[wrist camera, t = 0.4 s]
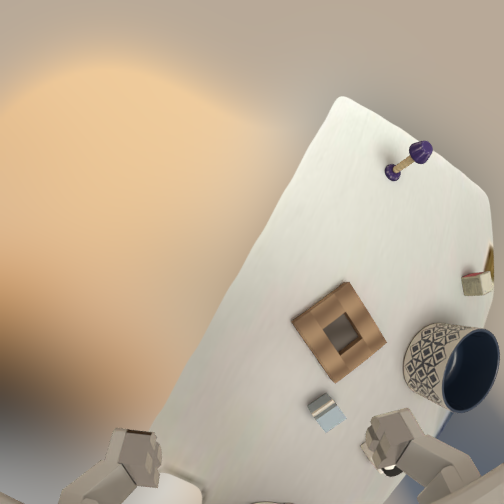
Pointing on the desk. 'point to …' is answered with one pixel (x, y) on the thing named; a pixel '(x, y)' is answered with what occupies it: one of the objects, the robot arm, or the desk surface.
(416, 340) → the planter
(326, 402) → the key block
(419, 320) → the desk surface
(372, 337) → the wooden socket board
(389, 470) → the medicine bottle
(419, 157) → the toy lamp
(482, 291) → the small box
